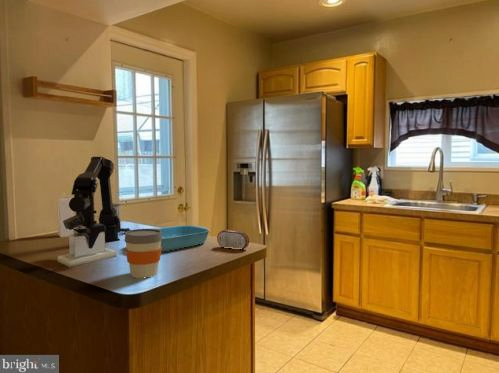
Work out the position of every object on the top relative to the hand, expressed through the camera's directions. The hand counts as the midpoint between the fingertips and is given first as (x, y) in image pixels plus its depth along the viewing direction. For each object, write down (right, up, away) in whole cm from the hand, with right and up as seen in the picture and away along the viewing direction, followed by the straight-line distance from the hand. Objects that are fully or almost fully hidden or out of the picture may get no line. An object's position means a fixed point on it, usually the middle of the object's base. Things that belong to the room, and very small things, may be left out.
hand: (87, 247), depth 151 cm
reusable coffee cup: (+28, -7, -18) cm, 34 cm away
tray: (0, -5, 0) cm, 5 cm away
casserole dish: (+29, -4, +24) cm, 38 cm away
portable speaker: (+57, -4, +19) cm, 60 cm away
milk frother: (-6, -1, +52) cm, 53 cm away
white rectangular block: (0, -3, 0) cm, 2 cm away
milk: (-29, -1, +43) cm, 52 cm away
